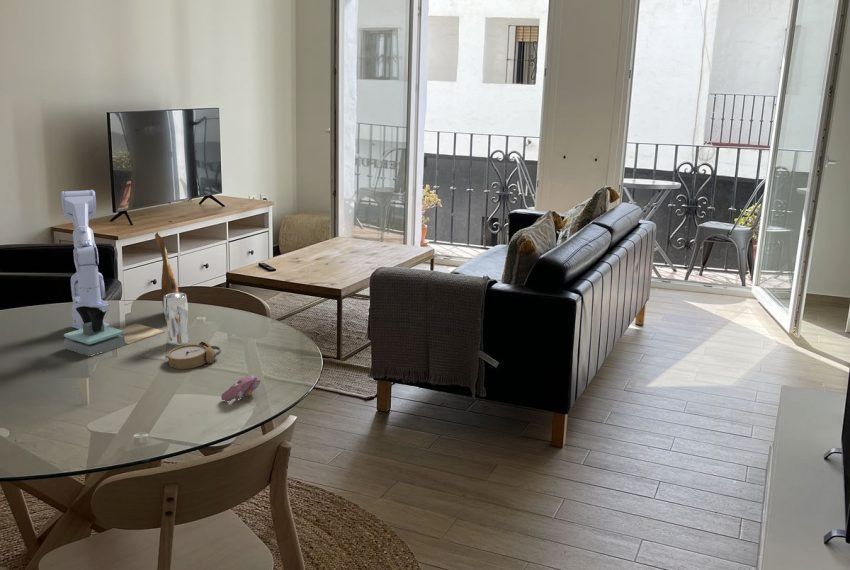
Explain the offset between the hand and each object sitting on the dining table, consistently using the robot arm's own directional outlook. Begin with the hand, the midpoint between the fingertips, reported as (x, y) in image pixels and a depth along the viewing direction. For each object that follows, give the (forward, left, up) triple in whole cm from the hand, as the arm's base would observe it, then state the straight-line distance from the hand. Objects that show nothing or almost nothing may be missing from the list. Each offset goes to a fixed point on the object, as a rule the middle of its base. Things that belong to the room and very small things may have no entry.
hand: (93, 330), depth 246 cm
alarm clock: (+33, +9, -6) cm, 35 cm away
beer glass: (+17, +17, -6) cm, 25 cm away
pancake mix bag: (-5, +33, -6) cm, 34 cm away
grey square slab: (0, 0, -5) cm, 5 cm away
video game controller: (+63, -2, -6) cm, 63 cm away
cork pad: (-1, +14, -5) cm, 15 cm away
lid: (0, 0, -2) cm, 2 cm away
